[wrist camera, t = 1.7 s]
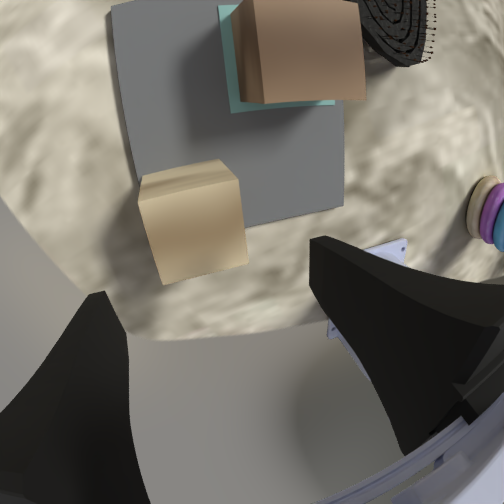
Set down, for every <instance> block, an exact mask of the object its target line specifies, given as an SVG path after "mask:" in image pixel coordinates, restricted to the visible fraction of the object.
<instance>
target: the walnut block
mask: <svg viewBox="0 0 504 504" xmlns="http://www.w3.org/2000/svg"><path fill="white" fill-rule="evenodd" d="M230 16H231V24H232V33H233V41H234V50H235V58H236V67H237V75H238V84H239V93H240V101H241V102H249V103H261V104H269V103H280V102H295V101H315V100H366V81H365V65H364V53H363V42H362V32H361V24H360V16H359V9H358V3H353V2H348V1H343V0H243V1H242V2H241V3H240V4H239V5H238V6H237V7H236V8H235V9H234V10H233V11H232V13H231V14H230Z"/></svg>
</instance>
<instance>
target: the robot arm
mask: <svg viewBox="0 0 504 504" xmlns="http://www.w3.org/2000/svg"><path fill="white" fill-rule="evenodd" d="M406 248H407V240H406V239H405V238H401V239H397V240H394V241H391V242H388V243H384V244H381V245H378V246H375V247H371V248H368V249H365V250H361V249H359V248H357V247H354V246H352V245H349V244H347V243H345V242H342V241H340V240H337V239H334V238H331V237H328V236H321V237H317V238H313V239H310V263H309V286H310V288H311V290H312V292H313V293H314V295H315V297H316V299H317V301H318V302H319V304H320V306H321V308H322V309H323V310H324V312H325V313H326V314H327V316H328V317H329V320H328V330H327V337H328V338H329V339H333V338H336V337H338V338H339V339H340V341H341V342H342V343H343V345H344V346H345V348H346V349H347V351H348V352H349V354H350V355H351V356H352V358H353V359H354V361H355V362H356V363H357V365H358V366H359V368H360V369H361V371H362V372H363V374H365V376H366V377H367V378H368V379H369V380H370V381H371V382H372V384H373V385H374V388H375V390H376V392H377V394H378V396H379V398H380V400H381V402H382V404H383V406H384V408H385V411H386V413H387V415H388V418H389V420H390V422H391V425H392V427H393V430H394V432H395V435H396V438H397V441H398V444H399V447H400V449H401V451H402V453H403V454H404V456H405V457H403V458H402V459H400V460H399V461H397V462H395V463H394V464H392V465H390V466H389V467H387V468H385V469H383V470H382V471H380V472H378V473H376V474H374V475H372V476H371V477H369V478H367V479H365V480H363V481H361V482H359V483H357V484H355V485H353V486H351V487H349V488H347V489H344V490H343V491H340V492H338V493H336V494H333V495H331V496H329V497H326V498H324V499H321V500H319V501H317V502H314V503H311V504H365V503H367V502H369V501H371V500H373V499H375V498H377V497H378V496H380V495H382V494H384V493H386V492H387V491H389V490H391V489H392V488H394V487H396V486H397V485H399V484H401V483H402V482H404V481H405V480H407V479H408V478H410V477H411V476H413V475H414V474H416V473H417V472H419V471H420V470H422V469H423V468H425V467H426V466H428V465H429V464H430V463H432V462H433V461H435V463H434V469H433V470H432V472H430V473H429V474H427V475H426V476H424V477H423V478H421V479H420V480H418V481H417V482H415V483H414V484H412V485H411V486H409V487H408V488H406V489H405V490H403V491H401V492H400V493H398V494H397V495H395V496H393V497H392V498H391V501H392V503H393V504H502V503H503V502H504V285H496V284H482V283H474V282H466V281H460V280H455V279H450V278H445V277H440V276H436V275H432V274H429V273H425V272H422V271H418V270H415V269H411V268H409V267H408V266H406V265H405V264H404V263H403V262H404V258H405V253H406ZM0 504H151V503H150V500H149V498H148V495H147V492H146V489H145V486H144V483H143V479H142V476H141V472H140V469H139V465H138V461H137V457H136V452H135V448H134V443H133V437H132V432H131V426H130V415H129V356H128V346H127V337H126V332H125V330H124V328H123V327H122V325H121V323H120V321H119V319H118V317H117V315H116V313H115V311H114V309H113V307H112V305H111V303H110V301H109V298H108V296H107V294H106V292H105V291H101V292H97V293H93V294H89V295H88V297H87V298H86V299H85V301H84V302H83V303H82V305H81V306H80V308H79V309H78V311H77V312H76V314H75V315H74V317H73V318H72V320H71V321H70V323H69V324H68V326H67V327H66V329H65V331H64V332H63V334H62V335H61V337H60V338H59V340H58V341H57V342H56V344H55V345H54V347H53V348H52V350H51V351H50V353H49V354H48V356H47V357H46V359H45V360H44V362H43V363H42V364H41V366H40V367H39V368H38V370H37V371H36V372H35V374H34V375H33V376H32V377H31V379H30V380H29V381H28V383H27V384H26V385H25V386H24V387H23V389H22V390H21V391H20V392H19V393H18V394H17V395H16V397H15V398H14V399H13V400H12V401H11V402H10V404H9V405H8V406H7V407H6V408H5V409H4V410H3V411H2V412H1V413H0Z"/></svg>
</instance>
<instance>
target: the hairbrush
mask: <svg viewBox="0 0 504 504" xmlns="http://www.w3.org/2000/svg"><path fill="white" fill-rule="evenodd" d="M343 1H348V2H353V3H358V9H359V16H360V24H361V32H362V36H363V37H364V39H365V40H366V41H367V42H368V44H369V45H370V46H371V47H372V49H373V50H374V51H376V52H377V53H379V54H380V55H381V56H383V57H384V58H385V59H387V60H388V61H389V62H391V63H392V64H393V65H395V66H396V67H409V66H411V65H415V64H419V63H423V61H424V62H426V61H428V60H427V59H426V60H423V59H422V60H423V61H421V58H422V57H423V56H422V54H423V52H424V45H425V40H426V29H430V27H428V28H427V27H426V26H428V25H426V21H427V22H428V20H426V16H427V15H428V13H427V8H428V7H427V4H426V1H428V0H343ZM433 1H436V0H433ZM428 4H429V3H428ZM434 5H435V3H434ZM432 8H436V7H432ZM434 15H436V14H434ZM435 18H436V16H435ZM394 21H395V22H394ZM392 22H394V23H393V24H392ZM434 22H437V21H434ZM432 30H436V28H434V29H432ZM431 35H433V36H435V35H434V34H431ZM398 39H400V40H399V42H397V41H396V40H398ZM428 41H429V40H428ZM432 42H434V41H433V40H432ZM426 47H427V46H426ZM430 48H433V47H430ZM406 50H407V51H406ZM403 51H406V53H398V52H403ZM427 53H431V54H433V52H429V51H428V52H427ZM428 58H429V59H431V57H428Z"/></svg>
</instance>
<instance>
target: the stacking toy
mask: <svg viewBox="0 0 504 504" xmlns="http://www.w3.org/2000/svg"><path fill="white" fill-rule="evenodd" d="M466 222H467V228H468V231H469V233H470V234H471V236H473V237H474V238H477V239H483V240H484V241H485V242H486V243H488V244H494V245H495V247H496V248H497V249H498V250H499V251H502V252H504V183H502V182H501V181H500V180H499V179H498V178H497V177H495V176H486V177H484V178H483V179H482V180H481V181H480V182H479V183H478V185H477V186H476V188H475V190H474V192H473V194H472V196H471V199H470V202H469V205H468V210H467V218H466Z"/></svg>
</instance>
